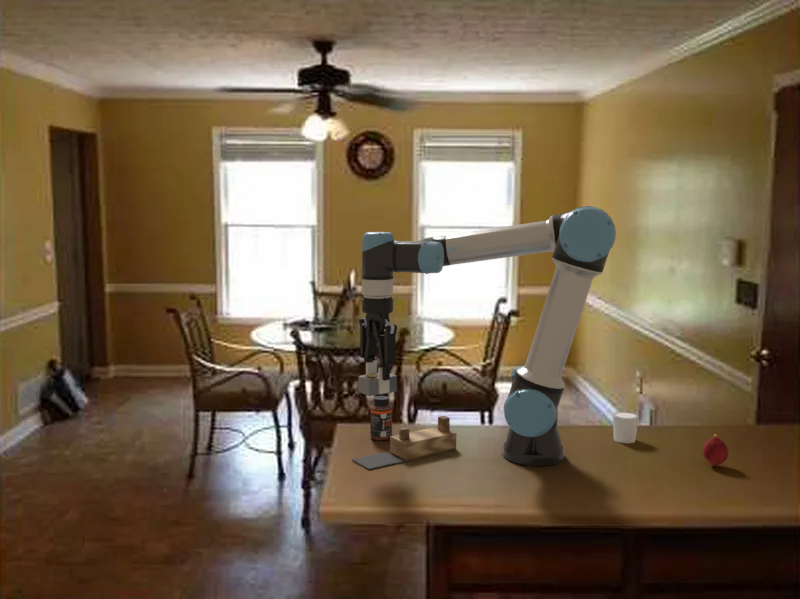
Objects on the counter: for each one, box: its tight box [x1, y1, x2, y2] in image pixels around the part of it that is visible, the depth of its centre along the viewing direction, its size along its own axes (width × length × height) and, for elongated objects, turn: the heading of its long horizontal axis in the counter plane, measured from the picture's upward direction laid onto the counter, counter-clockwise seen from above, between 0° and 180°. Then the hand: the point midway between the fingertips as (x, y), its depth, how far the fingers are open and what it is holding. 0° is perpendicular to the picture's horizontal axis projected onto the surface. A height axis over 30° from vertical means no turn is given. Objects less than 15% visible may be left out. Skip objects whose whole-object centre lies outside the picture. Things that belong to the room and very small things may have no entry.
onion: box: [702, 433, 729, 467], centre depth 189 cm, size 6×6×8 cm
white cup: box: [612, 411, 640, 444], centre depth 209 cm, size 7×7×7 cm
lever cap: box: [357, 372, 398, 397], centre depth 189 cm, size 5×8×4 cm, turn 124°
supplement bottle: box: [369, 395, 393, 441], centre depth 210 cm, size 6×6×11 cm
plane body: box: [389, 415, 457, 462], centre depth 199 cm, size 16×7×8 cm, turn 124°
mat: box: [351, 451, 404, 471], centre depth 192 cm, size 8×10×1 cm
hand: (377, 390), depth 190 cm, fingers closed on lever cap, 5 cm apart
